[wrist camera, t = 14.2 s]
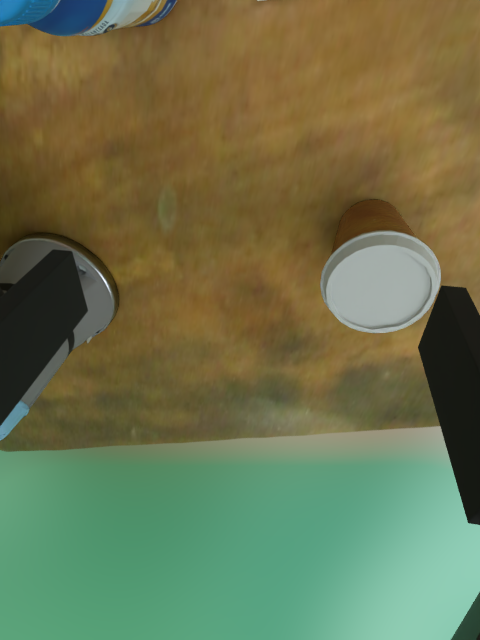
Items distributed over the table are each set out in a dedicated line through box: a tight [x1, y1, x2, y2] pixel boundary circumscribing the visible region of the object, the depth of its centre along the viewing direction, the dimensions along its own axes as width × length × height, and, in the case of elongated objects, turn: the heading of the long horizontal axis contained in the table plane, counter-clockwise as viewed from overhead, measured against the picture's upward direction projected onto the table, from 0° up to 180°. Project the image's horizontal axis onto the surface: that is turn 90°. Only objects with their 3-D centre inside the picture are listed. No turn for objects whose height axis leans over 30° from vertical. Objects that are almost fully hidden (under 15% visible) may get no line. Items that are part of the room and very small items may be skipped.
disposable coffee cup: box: [320, 200, 441, 333], centre depth 38 cm, size 10×10×12 cm
